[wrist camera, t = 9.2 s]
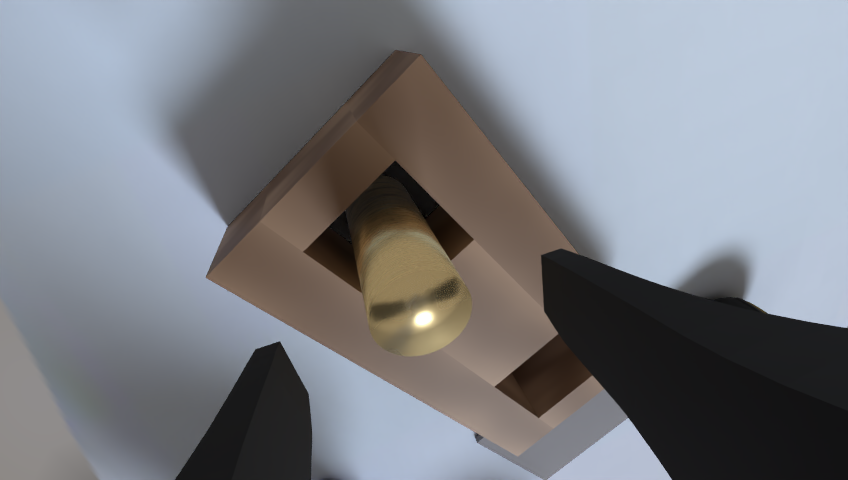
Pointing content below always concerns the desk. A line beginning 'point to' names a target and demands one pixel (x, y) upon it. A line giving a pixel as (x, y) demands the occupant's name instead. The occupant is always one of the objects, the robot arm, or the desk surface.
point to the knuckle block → (457, 234)
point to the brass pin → (404, 273)
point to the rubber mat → (566, 437)
